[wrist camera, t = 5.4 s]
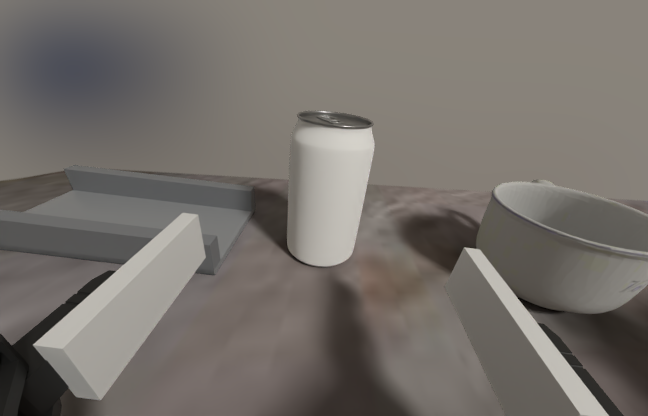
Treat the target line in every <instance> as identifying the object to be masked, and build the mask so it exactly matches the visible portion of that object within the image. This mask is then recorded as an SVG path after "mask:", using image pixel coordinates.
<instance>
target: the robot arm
mask: <svg viewBox="0 0 648 416" xmlns="http://www.w3.org/2000/svg"><path fill="white" fill-rule="evenodd" d="M205 258H206V255H205V250H204V244H203V239H202V233H201V228H200V222H199V216H198V215H197V214H189V213H182V214H181V215H180V216H178V217H177V218H176V219H175V220H174V221H173V222H172V223H171V224H169V225H168V226H167V227H166V228H165V229H164V230H163V231H161V232H160V233H159V234H158V235H157V236H156V237H155V238H154V239H152V240H151V241H150V242H149V243H148V244H147V245H146V246H144V247H143V248H142V249H141V250H140V251H139V252H138V253H137V254H135V255H134V256H133V257H132V258H131V259H130V260H129V261H127V262H126V263H125V264H124V265H123V266H122V267H121V268H119V269H118V270H117V271H110V270H109V271H107V272H105V273H103V274H102V275H100V276H98V277H96V278H94V279H92V280H91V281H90V282H89V283H87V284H86V285H85V286H84V287H82V288H81V289H80V290H79V291H78V293H77V294H74V295H73V296H72V297H70V298H69V299H68V300H67V301H66V303H65V304H62V305H61V306H60V307H58V308H57V309H56V310H55V311H54V312H52V313H51V314H50V315H49V316H48V317H46V318H45V319H44V320H43V321H41V322H40V323H39V324H38V325H37V326H35V327H34V328H33V329H32V330H31V331H29V332H28V333H27V334H26V335H25V336H23V337H22V338H21V339H20V340H19V341H17V342H16V343H15V344H14V345H12V346H11V345H10V343H9V342H8V341H7V340H6V339H5V338H4V337H3V336H2V335H1V334H0V416H60V413H61V400H60V397H61V396H62V395H63V393H64V392H65V391H66V390H67V389H68V388H69V389H70V390H71V391H72V393H73V394H74V395H75V396H76V397H79V398H86V399H94V400H101V399H102V398H103V397H104V395H105V394H106V393H107V391H108V390H109V388H110V387H111V386H112V384H113V383H114V382H115V380H116V379H117V378H118V376H119V375H120V373H121V372H122V371H123V369H124V368H125V367H126V365H127V364H128V363H129V361H130V360H131V359H132V357H133V356H134V354H135V353H136V352H137V350H138V349H139V348H140V346H141V345H142V344H143V342H144V341H145V340H146V338H147V337H148V335H149V334H150V333H151V331H152V330H153V329H154V327H155V326H156V325H157V323H158V322H159V320H160V319H161V318H162V316H163V315H164V314H165V312H166V311H167V310H168V308H169V307H170V306H171V304H172V303H173V301H174V300H175V299H176V297H177V296H178V295H179V293H180V292H181V291H182V289H183V288H184V286H185V285H186V284H187V282H188V281H189V280H190V278H191V277H192V276H193V274H194V273H195V272H196V270H197V269H198V267H199V266H200V265H201V263H202V262H203V261H204V259H205ZM445 289H446V291H447V294H448V296H449V298H450V300H451V302H452V304H453V306H454V308H455V310H456V312H457V315H458V317H459V319H460V321H461V323H462V325H463V327H464V329H465V331H466V333H467V336H468V338H469V340H470V342H471V344H472V346H473V348H474V350H475V352H476V354H477V357H478V359H479V361H480V363H481V365H482V367H483V369H484V371H485V373H486V375H487V378H488V380H489V382H490V384H491V386H492V388H493V390H494V392H495V394H496V396H497V399H498V401H499V403H500V405H501V407H502V409H503V411H504V413H505V415H506V416H623V414H622V413H621V412H620V411H619V410H618V408H617V407H616V406H615V405H614V403H613V402H612V401H611V400H610V399H609V397H608V396H607V395H606V394H605V392H604V391H603V390H602V389H601V388H600V386H599V385H598V384H597V383H596V381H595V380H594V379H593V378H592V377H591V375H590V374H589V373H588V372H587V370H586V369H583V367H582V364H581V363H580V362H579V361H578V359H577V358H576V357H575V356H573V355H572V352H571V351H570V350H569V348H568V347H567V346H566V345H565V344H564V342H563V341H562V340H561V339H560V338H559V337H558V336H557V335H556V334H555V333H554V332H552V331H551V330H550V329H549V328H548V327H547V326H545V325H544V324H540V323H537V322H536V321H535V320H534V319H533V317H532V316H531V315H530V313H529V312H528V311H527V310H526V308H525V307H524V306H523V304H522V303H521V302H520V301H519V299H518V298H517V297H516V295H515V294H514V293H513V292H512V290H511V289H510V288H509V286H508V285H507V284H506V283H505V281H504V280H503V279H502V277H501V276H500V275H499V273H498V272H497V271H496V270H495V268H494V267H493V266H492V264H491V263H490V262H489V261H488V259H487V258H486V257H485V255H484V254H483V253H482V252H481V250H480V249H473V248H465V247H464V248H463V251H462V253H461V255H460V257H459V259H458V261H457V263H456V265H455V267H454V269H453V271H452V273H451V275H450V277H449V279H448V281H447V283H446V285H445Z"/></svg>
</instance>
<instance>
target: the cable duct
mask: <svg viewBox="0 0 648 416" xmlns="http://www.w3.org/2000/svg"><path fill="white" fill-rule="evenodd" d="M64 171H65V173H66V175H67V177H68V179H69V182H70V184H71V186H72V188H73V190H72V191H70V192H68V193H66V194H63V195H61V196H59V197H57V198H54V199H52V200H50V201H48V202H45V203H43V204H41V205H38V206H36V207H34V208H32V209H29V210H27V211H25V212H16V211H8V210H0V249H1V250H9V251H18V252H26V253H34V254H42V255H51V256H59V257H67V258H76V259H84V260H92V261H101V262H109V263H117V264H125V263H126V262H127V261H129V260H130V259H131V258H132V257H133V256H134V255H135V254H137V253H138V252H139V251H140V250H141V249H142V248H143V247H144V246H146V245H147V244H148V243H149V242H150V241H151V240H152V239H154V238H155V237H156V236H157V235H158V234H159V233H160V232H161V231H163V230H164V229H165V228H166V227H167V226H168V225H169V224H171V223H172V222H173V221H174V220H175V219H176V218H177V217H178V216H180V215H181V214H182V213H189V214H197V215H198V216H199V222H200V228H201V233H202V239H203V244H204V250H205V255H206V258H205V259H204V261H203V262H202V263H201V265H200V266H199V267H198V269H197V270H196V272H195V273H200V274H209V275H215V274H216V272H217V271H218V269H219V268H220V266H221V264H222V263H223V261H224V260H225V258H226V256H227V255H228V253H229V251H230V250H231V248H232V247H233V245H234V243H235V242H236V240H237V239H238V237H239V235H240V234H241V232H242V230H243V229H244V227H245V226H246V224H247V222H248V221H249V219H250V218H251V216H252V214H253V213H254V211H255V194H254V187H253V186H245V185H236V184H228V183H220V182H211V181H203V180H195V179H186V178H178V177H170V176H161V175H153V174H145V173H136V172H128V171H119V170H111V169H103V168H94V167H86V166H78V165H73V166H71V167H68V168H65V169H64Z"/></svg>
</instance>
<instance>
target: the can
mask: <svg viewBox="0 0 648 416" xmlns="http://www.w3.org/2000/svg"><path fill="white" fill-rule="evenodd" d="M297 117H298V122H297V124H296V126H295V128H294V130H293V132H292V134H291V141H290V162H289V164H290V165H289V190H288V221H287V246H288V249H289V251H290V252H291V254H292V255H293V256H294V257H296V258H297V259H298V260H299V261H301V262H303V263H305V264H307V265H311V266H315V267H332V266H335V265H338V264H340V263H342V262H344V261H345V260H347V259H348V258H349V257H350V256H351V254H352V252H353V249H354V245H355V240H356V235H357V231H358V226H359V221H360V216H361V212H362V207H363V202H364V197H365V193H366V188H367V183H368V178H369V173H370V168H371V163H372V158H373V153H374V146H375V145H374V140H373V135H372V130H371V128H372V126H373V122H372V121H371V120H369V119H366V118H363V117H360V116H355V115H350V114H345V113H338V112H329V111H304V112H300V113H298V114H297Z"/></svg>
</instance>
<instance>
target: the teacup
mask: <svg viewBox="0 0 648 416" xmlns="http://www.w3.org/2000/svg"><path fill="white" fill-rule="evenodd" d="M476 249H480V250H481V252H482V253H483V254H484V255H485V257H486V258H487V259H488V261H489V262H490V263H491V264H492V266H493V267H494V268H495V270H496V271H497V272H498V273H499V275H500V276H501V277H502V279H503V280H504V281H505V283H506V284H507V285H508V286H509V288H510V289H511V290H512V292H513V293H514V294H515V295H516V296H518V297H520V298H522V299H523V300H525V301H528V302H530V303H532V304H535V305H538V306H541V307H544V308H548V309H553V310H558V311H566V312H572V313H581V314H596V313H603V312H607V311H611V310H614V309H616V308H618V307H620V306H622V305H624V304H625V303H627V302H628V301H629V300H631V299H632V298H633V297H634V296H635V295H637V294H638V293H639V292H640V291H641V290H642V289H643V288H645V287H646V286H647V285H648V215H647V214H645V213H643V212H641V211H638V210H636V209H634V208H631V207H629V206H626V205H623V204H620V203H618V202H615V201H612V200H609V199H606V198H603V197H600V196H596V195H593V194H589V193H585V192H581V191H577V190H573V189H568V188H564V187H559V186H554V185H553V184H552V183H551V182H549V181H545V180H534V181H532V182H507V183H503V184H499V185H497V186H496V187H495V188H494V189H493V191H492V197H491V200H490V202H489V204H488V207H487V209H486V211H485V214H484V217H483V219H482V222H481V225H480V228H479V230H478V234H477V239H476Z"/></svg>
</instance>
